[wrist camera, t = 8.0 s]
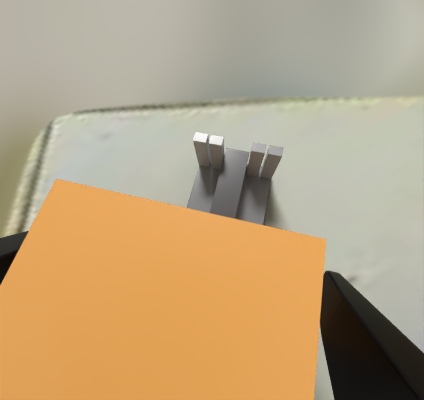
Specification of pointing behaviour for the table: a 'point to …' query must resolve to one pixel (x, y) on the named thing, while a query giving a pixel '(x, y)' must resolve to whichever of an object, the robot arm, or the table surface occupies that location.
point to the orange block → (157, 304)
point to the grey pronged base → (232, 179)
